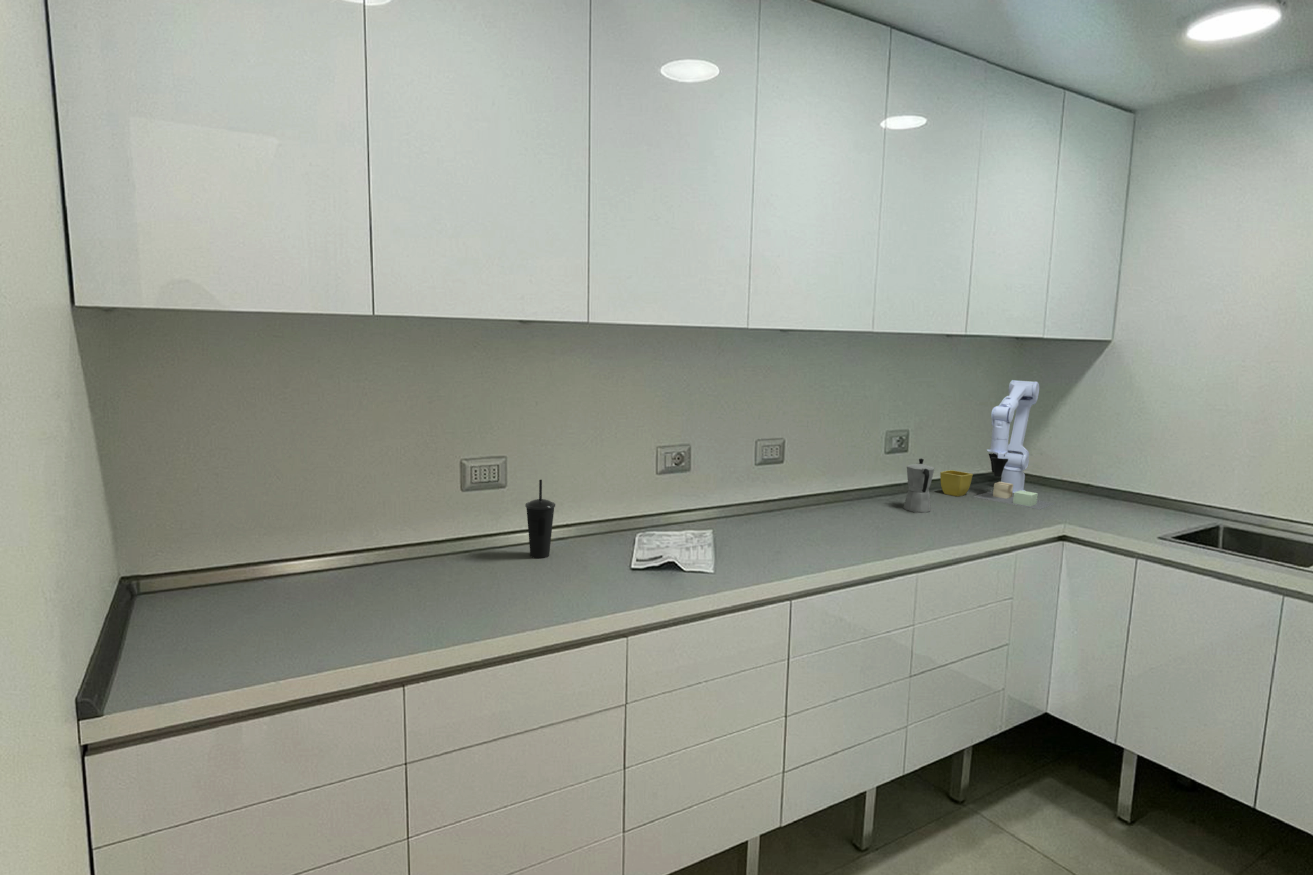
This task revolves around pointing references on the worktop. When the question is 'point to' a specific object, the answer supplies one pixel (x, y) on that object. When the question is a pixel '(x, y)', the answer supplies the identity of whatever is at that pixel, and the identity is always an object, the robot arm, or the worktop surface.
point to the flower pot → (955, 482)
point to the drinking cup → (540, 525)
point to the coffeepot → (919, 487)
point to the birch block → (1003, 490)
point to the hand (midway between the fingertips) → (996, 474)
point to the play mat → (1010, 500)
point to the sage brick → (1025, 498)
